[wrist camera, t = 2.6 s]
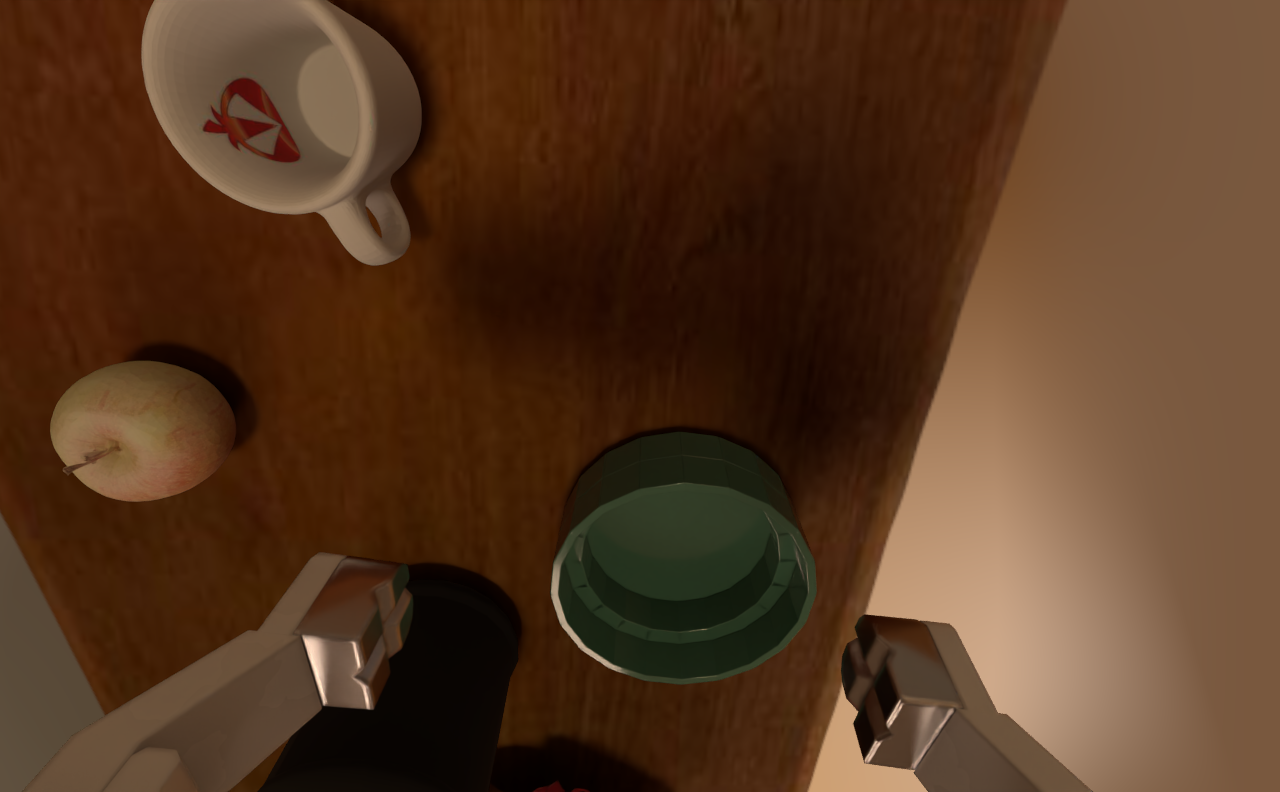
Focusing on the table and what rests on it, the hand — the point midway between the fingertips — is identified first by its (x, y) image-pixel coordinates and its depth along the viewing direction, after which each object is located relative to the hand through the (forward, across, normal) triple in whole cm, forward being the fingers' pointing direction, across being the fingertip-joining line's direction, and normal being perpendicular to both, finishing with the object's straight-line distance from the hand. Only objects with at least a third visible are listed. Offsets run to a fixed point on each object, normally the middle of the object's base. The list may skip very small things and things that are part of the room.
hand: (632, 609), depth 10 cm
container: (+20, +12, +29) cm, 37 cm away
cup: (+23, +14, -4) cm, 27 cm away
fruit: (+21, +26, +12) cm, 36 cm away
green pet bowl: (+21, -4, +18) cm, 28 cm away
